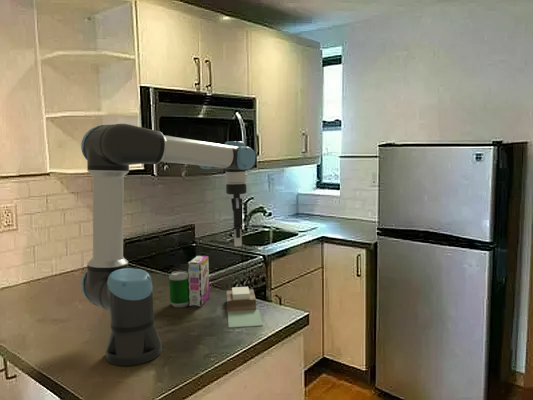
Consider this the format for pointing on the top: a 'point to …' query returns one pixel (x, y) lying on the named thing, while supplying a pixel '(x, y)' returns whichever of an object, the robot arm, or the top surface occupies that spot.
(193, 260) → the candy bar box
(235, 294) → the ivory tile
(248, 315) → the sage mat
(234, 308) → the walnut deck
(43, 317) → the top surface
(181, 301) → the soda can
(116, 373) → the top surface
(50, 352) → the top surface
